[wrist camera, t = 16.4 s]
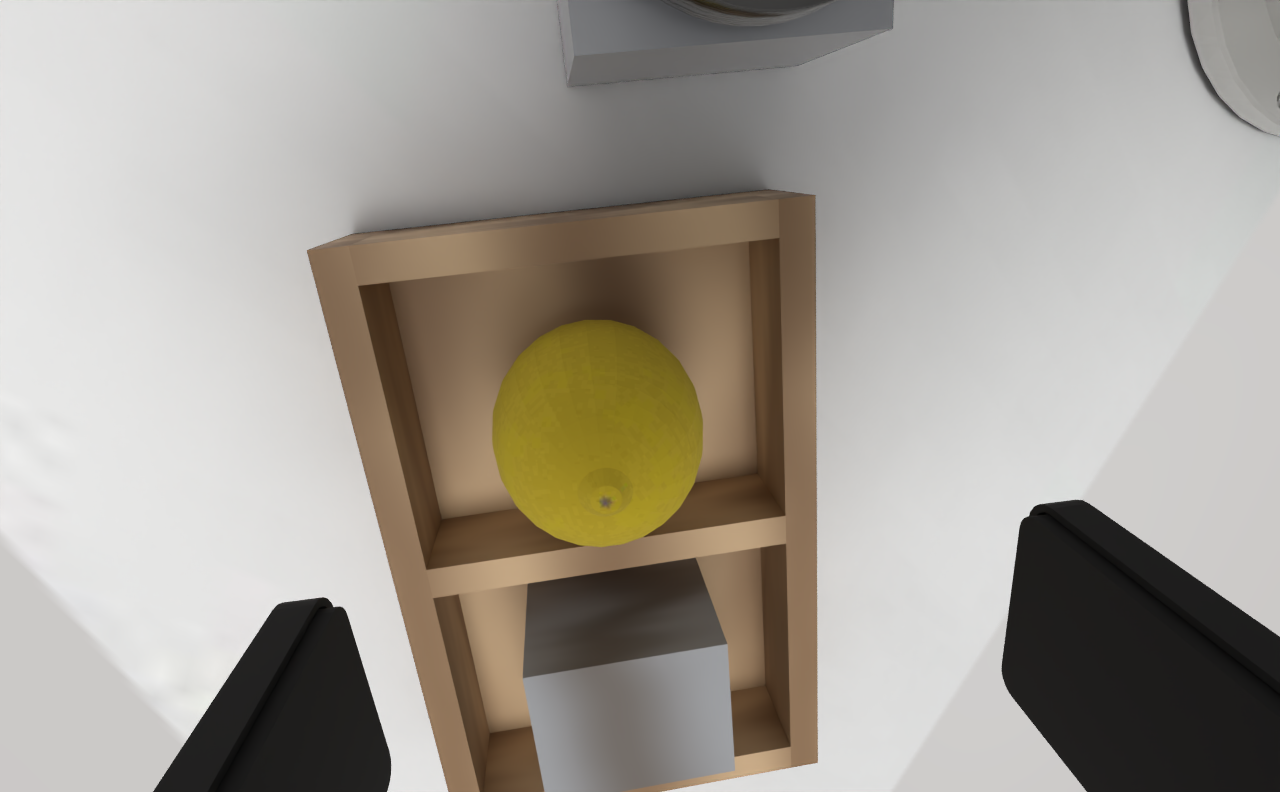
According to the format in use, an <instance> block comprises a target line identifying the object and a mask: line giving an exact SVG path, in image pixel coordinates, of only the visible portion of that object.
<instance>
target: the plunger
mask: <svg viewBox="0 0 1280 792" xmlns="http://www.w3.org/2000/svg"><path fill="white" fill-rule="evenodd" d="M661 1H663V2H664V3H666V4H667V5H669V6H671V7H673V8H675V9H677V10H680V11H682V12H684V13H686V14H688V15H690V16H693V17H696V18H700V19H703V20H706V21H710V22H713V23H718V24H725V25H732V26H765V25H771V24H778V23H784V22H787V21H791V20H794V19H797V18H800V17H803V16H806V15H809V14H811V13H813V12H815V11H817V10H819V9H821V8H823V7H825V6H827V5H830V4H831V3H833V2H835V1H837V0H661Z"/></svg>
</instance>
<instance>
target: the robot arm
mask: <svg viewBox="0 0 1280 792" xmlns="http://www.w3.org/2000/svg"><path fill="white" fill-rule="evenodd" d="M1187 1H1188V9H1189V18H1190V26H1191V34H1192V37H1193V40H1194V43H1195V46H1196V50H1197V53H1198V56H1199V59H1200V62H1201V65H1202V68H1203V70H1204V72H1205V73H1206V75H1207V77H1208V78H1209V80H1210V82H1211V84H1212V85H1213V87H1214V89H1215V90H1216V92H1217V94H1218V96H1219V97H1220V98H1221V99H1222V100H1223V101H1224V102H1225V103H1226V104H1227V105H1228V106H1229V107H1230V108H1231V109H1232V110H1233V111H1234V112H1235V113H1236V114H1237V115H1238V116H1239V117H1240V118H1241V119H1243V120H1245V121H1247V122H1248V123H1250V124H1252V125H1254V126H1255V127H1257V128H1259V129H1261V130H1262V131H1264V132H1266V133H1270V134H1274V135H1278V136H1280V0H1187ZM1002 675H1003V679H1004V682H1005V685H1006V687H1007V689H1008V691H1009V693H1010V694H1011V696H1012V697H1013V699H1014V700H1015V701H1016V702H1017V704H1018V705H1019V706H1020V707H1021V709H1022V710H1023V711H1024V712H1025V714H1026V715H1027V716H1028V718H1029V719H1030V720H1031V721H1032V722H1033V724H1034V725H1035V726H1036V728H1037V729H1038V730H1039V731H1040V732H1041V734H1042V735H1043V737H1044V738H1045V739H1046V740H1047V742H1048V743H1049V744H1050V745H1051V747H1052V748H1053V749H1054V750H1055V752H1056V753H1057V754H1058V756H1059V757H1060V758H1061V759H1062V761H1063V762H1064V763H1065V764H1066V766H1067V767H1068V768H1069V770H1070V771H1071V772H1072V773H1073V775H1074V776H1075V777H1076V778H1077V780H1078V781H1079V782H1080V783H1081V784H1082V786H1083V787H1084V788H1085V790H1086V791H1087V792H1280V637H1279V636H1278V635H1276V634H1275V633H1273V632H1272V631H1270V630H1269V629H1268V628H1266V627H1265V626H1263V625H1262V624H1261V623H1259V622H1258V621H1256V620H1255V619H1253V618H1252V617H1251V616H1249V615H1248V614H1246V613H1245V612H1243V611H1242V610H1240V609H1239V608H1238V607H1236V606H1235V605H1233V604H1232V603H1231V602H1229V601H1228V600H1226V599H1225V598H1223V597H1222V596H1220V595H1219V594H1218V593H1216V592H1215V591H1213V590H1212V589H1211V588H1209V587H1208V586H1206V585H1205V584H1203V583H1202V582H1201V581H1199V580H1198V579H1196V578H1195V577H1193V576H1192V575H1190V574H1189V573H1188V572H1186V571H1185V570H1183V569H1182V568H1180V567H1179V566H1178V565H1176V564H1175V563H1173V562H1172V561H1170V560H1169V559H1168V558H1166V557H1165V556H1163V555H1162V554H1160V553H1159V552H1158V551H1156V550H1155V549H1153V548H1152V547H1150V546H1149V545H1148V544H1146V543H1144V542H1143V541H1142V540H1140V539H1139V538H1137V537H1136V536H1135V535H1133V534H1132V533H1130V532H1129V531H1128V530H1126V529H1125V528H1123V527H1122V526H1120V525H1119V524H1118V523H1116V522H1115V521H1113V520H1112V519H1110V518H1109V517H1107V516H1106V515H1105V514H1103V513H1102V512H1100V511H1099V510H1097V509H1096V508H1095V507H1093V506H1091V505H1090V504H1088V503H1087V502H1085V501H1083V500H1070V501H1063V502H1055V503H1047V504H1040V505H1037V506H1035V507H1034V508H1033V509H1032V511H1031V512H1030V515H1029V517H1026V518H1024V519H1023V520H1022V522H1021V525H1020V529H1019V537H1018V544H1017V552H1016V560H1015V567H1014V575H1013V583H1012V590H1011V598H1010V606H1009V614H1008V621H1007V629H1006V637H1005V644H1004V652H1003V660H1002ZM390 776H391V757H390V753H389V749H388V746H387V743H386V739H385V736H384V733H383V730H382V726H381V723H380V720H379V717H378V713H377V710H376V707H375V704H374V700H373V697H372V694H371V691H370V687H369V684H368V681H367V678H366V674H365V671H364V668H363V664H362V661H361V658H360V655H359V651H358V648H357V645H356V642H355V638H354V635H353V632H352V629H351V625H350V622H349V619H348V616H347V613H346V611H345V610H344V609H343V607H333V605H332V603H331V602H330V601H329V600H328V599H327V598H324V597H323V598H315V599H307V600H300V601H292V602H284V603H281V604H278V605H277V606H276V607H275V608H274V609H273V610H272V612H271V613H270V615H269V616H268V618H267V620H266V621H265V623H264V624H263V626H262V627H261V629H260V630H259V632H258V633H257V635H256V636H255V638H254V639H253V641H252V642H251V644H250V645H249V647H248V648H247V650H246V651H245V653H244V654H243V656H242V658H241V659H240V661H239V662H238V664H237V665H236V667H235V668H234V670H233V671H232V673H231V674H230V676H229V677H228V679H227V680H226V682H225V683H224V685H223V686H222V688H221V689H220V691H219V692H218V694H217V695H216V697H215V699H214V700H213V702H212V703H211V705H210V706H209V708H208V709H207V711H206V712H205V714H204V715H203V717H202V718H201V720H200V721H199V723H198V724H197V726H196V727H195V729H194V730H193V732H192V733H191V735H190V736H189V738H188V740H187V741H186V743H185V744H184V746H183V747H182V749H181V750H180V752H179V753H178V755H177V756H176V758H175V759H174V761H173V762H172V764H171V765H170V767H169V769H168V770H167V771H166V773H165V774H164V776H163V778H162V779H161V781H160V782H159V784H158V785H157V787H156V788H155V790H154V791H153V792H387V790H388V786H389V782H390Z"/></svg>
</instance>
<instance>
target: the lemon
mask: <svg viewBox="0 0 1280 792" xmlns="http://www.w3.org/2000/svg"><path fill="white" fill-rule="evenodd" d="M492 445H493V450H494V454H495V458H496V462H497V466H498V470H499V474H500V477H501V480H502V482H503V484H504V486H505V487H506V489H507V491H508V493H509V494H510V496H511V498H512V499H513V501H514V503H515V505H516V506H517V507H518V508H519V509H520V511H521V512H522V513H523V514H525V515H526V516H527V517H528V518H529V519H530V520H531V521H532V522H533V523H534V524H535V525H536V526H537V527H539V528H540V529H542V530H544V531H545V532H547V533H549V534H550V535H552V536H554V537H555V538H558V539H561V540H564V541H568V542H571V543H574V544H577V545H581V546H594V547H606V546H613V545H621V544H625V543H628V542H631V541H633V540H636V539H639V538H642V537H644V536H645V535H647V534H649V533H650V532H652V531H653V530H655V529H656V528H658V527H660V526H661V525H663V524H664V523H665V522H666V521H667V520H668V519H669V518H670V517H671V516H672V515H673V514H674V513H675V512H676V511H677V510H678V509H679V508H680V507H681V505H682V503H683V502H684V500H685V498H686V497H687V495H688V493H689V492H690V490H691V488H692V487H693V485H694V483H695V479H696V476H697V472H698V468H699V465H700V461H701V458H702V452H703V418H702V413H701V409H700V405H699V401H698V397H697V394H696V390H695V387H694V385H693V383H692V381H691V380H690V378H689V376H688V375H687V373H686V371H685V370H684V368H683V366H682V365H681V363H680V361H679V360H678V359H677V358H676V357H675V356H674V355H673V354H672V353H671V352H670V351H669V350H668V349H667V348H666V347H665V346H664V345H663V344H662V343H661V342H660V341H659V340H657V339H656V338H654V337H652V336H650V335H649V334H647V333H645V332H643V331H642V330H640V329H638V328H636V327H634V326H631V325H627V324H624V323H620V322H616V321H612V320H582V321H578V322H574V323H569V324H565V325H561V326H559V327H557V328H555V329H553V330H551V331H550V332H548V333H546V334H544V335H542V336H540V337H539V338H537V339H536V340H535V341H534V342H533V343H532V344H531V345H530V346H529V347H528V348H526V349H525V350H524V351H523V352H522V353H521V354H520V355H519V356H518V357H517V359H516V360H515V362H514V363H513V365H512V367H511V368H510V370H509V371H508V373H507V374H506V376H505V377H504V379H503V381H502V384H501V387H500V390H499V393H498V396H497V399H496V402H495V406H494V409H493V426H492Z"/></svg>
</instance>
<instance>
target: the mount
mask: <svg viewBox="0 0 1280 792" xmlns="http://www.w3.org/2000/svg"><path fill="white" fill-rule="evenodd" d="M557 5H558V13H559V21H560V30H561V38H562V46H563V55H564V63H565V71H566V80H567V87H570V86H581V85H592V84H603V83H614V82H625V81H636V80H647V79H658V78H669V77H680V76H691V75H702V74H713V73H724V72H735V71H746V70H757V69H768V68H779V67H790V66H798V65H801V64H803V63H806V62H809V61H811V60H814V59H816V58H819V57H821V56H824V55H826V54H829V53H832V52H834V51H837V50H839V49H842V48H844V47H847V46H849V45H852V44H855V43H857V42H860V41H862V40H865V39H867V38H870V37H872V36H875V35H877V34H880V33H883V32H885V31H888V30H890V29H893V7H894V0H837V1H835V2H833V3H831V4H830V5H827V6H825V7H823V8H821V9H819V10H817V11H815V12H813V13H811V14H809V15H806V16H803V17H800V18H797V19H794V20H791V21H787V22H784V23H778V24H771V25H765V26H732V25H725V24H718V23H713V22H710V21H706V20H703V19H700V18H696V17H693V16H690V15H688V14H686V13H684V12H682V11H680V10H677V9H675V8H673V7H671V6H669V5H667V4H666V3H664V2H663V1H661V0H557Z"/></svg>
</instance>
